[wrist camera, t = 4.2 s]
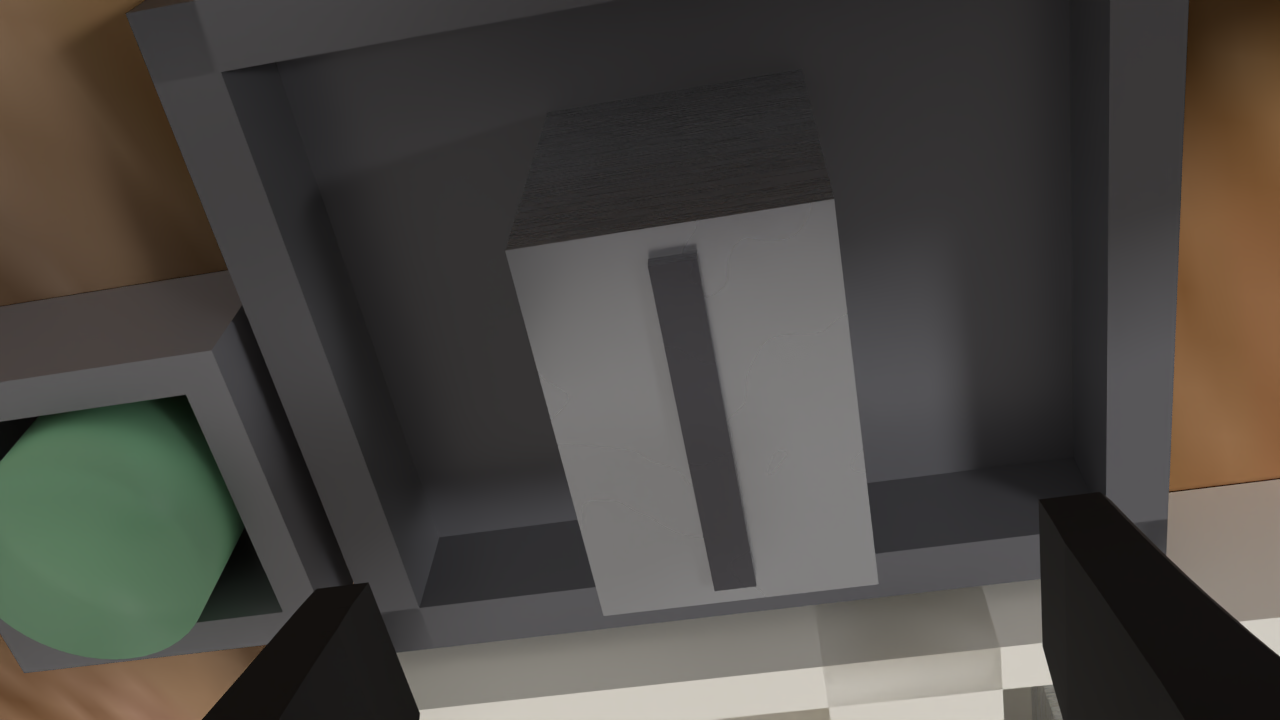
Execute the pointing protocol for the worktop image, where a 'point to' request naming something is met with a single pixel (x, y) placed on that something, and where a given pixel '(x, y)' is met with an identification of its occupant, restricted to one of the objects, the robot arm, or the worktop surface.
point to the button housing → (228, 416)
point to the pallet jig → (842, 645)
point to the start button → (112, 528)
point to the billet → (696, 344)
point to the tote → (868, 237)
